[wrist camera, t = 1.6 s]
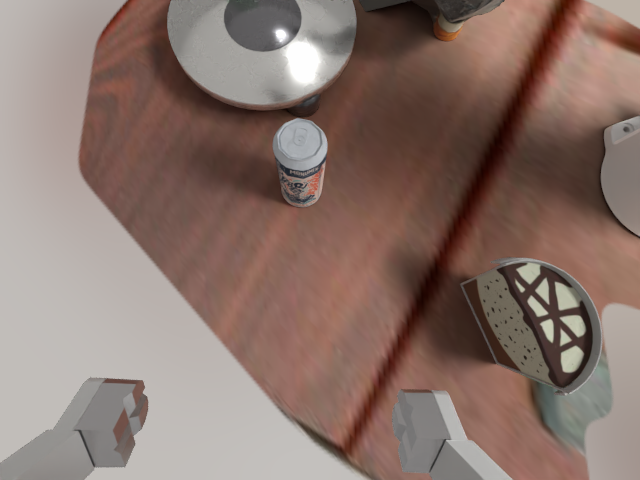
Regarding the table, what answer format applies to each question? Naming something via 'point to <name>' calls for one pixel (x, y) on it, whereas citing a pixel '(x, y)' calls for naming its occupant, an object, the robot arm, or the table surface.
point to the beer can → (300, 161)
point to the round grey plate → (263, 49)
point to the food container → (537, 322)
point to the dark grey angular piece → (443, 12)
